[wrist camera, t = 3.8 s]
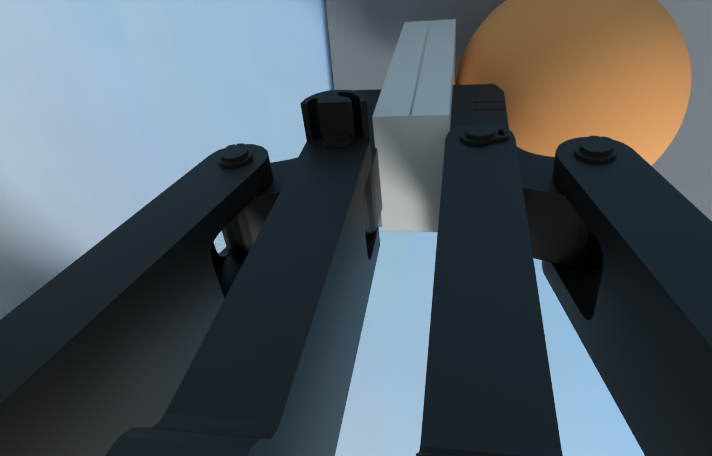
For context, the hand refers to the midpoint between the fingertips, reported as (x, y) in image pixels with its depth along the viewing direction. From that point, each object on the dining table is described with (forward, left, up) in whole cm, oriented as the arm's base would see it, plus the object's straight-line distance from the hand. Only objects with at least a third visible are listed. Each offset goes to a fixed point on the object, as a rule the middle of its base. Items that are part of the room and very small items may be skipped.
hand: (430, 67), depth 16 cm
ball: (+4, 0, +1) cm, 4 cm away
